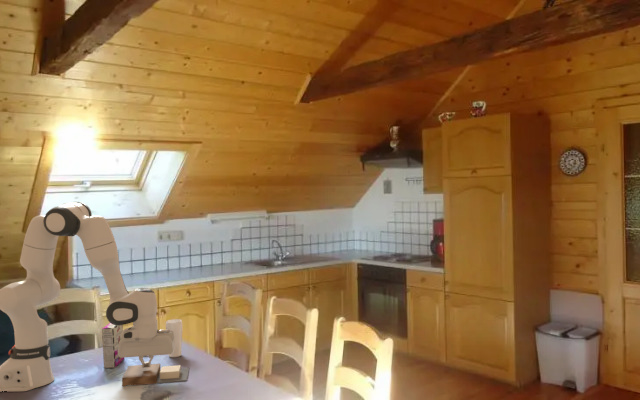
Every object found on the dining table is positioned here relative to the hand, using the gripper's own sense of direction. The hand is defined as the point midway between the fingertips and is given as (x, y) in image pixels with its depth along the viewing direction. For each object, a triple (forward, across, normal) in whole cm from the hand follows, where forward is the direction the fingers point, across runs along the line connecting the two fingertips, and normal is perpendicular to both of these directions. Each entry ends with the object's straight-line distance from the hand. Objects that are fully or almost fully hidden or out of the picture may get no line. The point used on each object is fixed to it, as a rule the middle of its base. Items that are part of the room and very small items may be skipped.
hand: (146, 367), depth 215 cm
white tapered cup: (+4, -8, -26) cm, 27 cm away
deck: (+4, +2, 0) cm, 4 cm away
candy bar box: (+5, +16, -21) cm, 26 cm away
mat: (+4, -10, 0) cm, 11 cm away
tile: (+4, -9, 0) cm, 10 cm away
